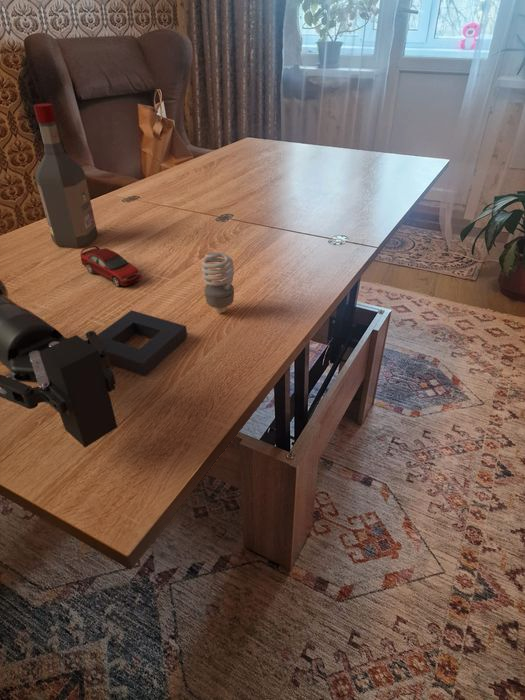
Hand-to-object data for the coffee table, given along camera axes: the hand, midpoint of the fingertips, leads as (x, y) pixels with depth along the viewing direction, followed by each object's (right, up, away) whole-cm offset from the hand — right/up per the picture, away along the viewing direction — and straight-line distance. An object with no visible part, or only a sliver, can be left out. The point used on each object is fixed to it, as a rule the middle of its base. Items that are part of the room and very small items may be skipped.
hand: (91, 395), depth 55 cm
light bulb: (+12, +12, +36) cm, 39 cm away
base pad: (-1, +6, +27) cm, 27 cm away
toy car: (-13, +21, +48) cm, 54 cm away
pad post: (-2, -5, +6) cm, 7 cm away
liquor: (-26, +32, +63) cm, 75 cm away
